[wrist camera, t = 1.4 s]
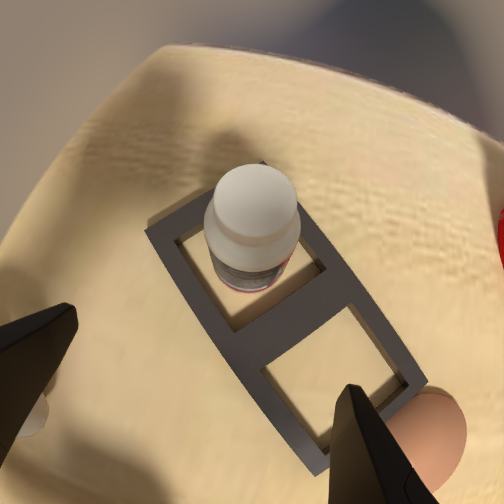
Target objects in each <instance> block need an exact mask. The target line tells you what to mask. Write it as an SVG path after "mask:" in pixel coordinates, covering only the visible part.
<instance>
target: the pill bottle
mask: <svg viewBox="0 0 504 504" xmlns="http://www.w3.org/2000/svg"><path fill="white" fill-rule="evenodd" d="M300 230H301V222H300V216H299V212H298V210H297V195H296V191H295V188H294V186H293V185H292V183H291V181H290V180H289V179H288V178H287V177H286V176H285V175H284V174H283V173H282V172H280V171H279V170H277V169H275V168H273V167H270V166H267V165H263V164H246V165H242V166H238V167H236V168H234V169H232V170H230V171H229V172H227V173H226V174H225V175H224V176H223V177H222V178H221V179H220V180H219V182H218V184H217V185H216V188H215V191H214V195H213V198H212V199H211V201H210V203H209V204H208V206H207V209H206V212H205V216H204V233H205V238H206V242H207V244H208V248H209V251H210V256H211V259H212V263H213V267H214V269H215V272H216V274H217V276H218V278H219V279H220V281H221V282H222V283H223V284H224V285H225V286H227V287H228V288H229V289H231V290H233V291H235V292H238V293H241V294H257V293H261V292H264V291H266V290H268V289H269V288H271V287H272V286H273V285H274V284H275V283H276V282H277V281H278V280H279V278H280V277H281V275H282V273H283V271H284V269H285V267H286V265H287V263H288V261H289V259H290V257H291V255H292V253H293V251H294V249H295V247H296V245H297V242H298V239H299V236H300Z"/></svg>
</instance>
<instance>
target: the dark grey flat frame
mask: <svg viewBox="0 0 504 504" xmlns="http://www.w3.org/2000/svg"><path fill="white" fill-rule="evenodd" d="M258 164H263V165H267V164H266V163H265V162H264V161H262V162H260V163H258ZM267 166H268V165H267ZM215 188H216V187H215ZM215 188H214V189H212V190H210V191H208V192H207V193H205V194H203V195H202V196H200V197H198V198H196V199H195V200H193V201H191V202H190V203H188V204H186V205H185V206H183V207H181V208H180V209H178V210H176V211H175V212H173V213H171V214H170V215H168V216H167V217H165V218H163V219H162V220H160V221H158V222H157V223H155V224H154V225H152V226H150V227H149V228H147V229H146V230H144V231H145V233H146V235H147V236H148V238H149V240H150V242H151V243H152V245H153V247H154V249H155V250H156V252H157V254H158V255H159V257H160V259H161V260H162V262H163V264H164V266H165V267H166V269H167V270H168V272H169V274H170V275H171V277H172V279H173V280H174V282H175V284H176V285H177V287H178V288H179V290H180V292H181V293H182V295H183V296H184V298H185V300H186V301H187V303H188V304H189V306H190V308H191V309H192V311H193V312H194V314H195V315H196V317H197V318H198V320H199V321H200V323H201V325H202V326H203V328H204V329H205V331H206V332H207V334H208V335H209V337H210V338H211V340H212V341H213V343H214V344H215V346H216V347H217V348H218V350H219V351H220V353H221V354H222V356H223V357H224V359H225V360H226V362H227V363H228V364H229V366H230V367H231V369H232V370H233V372H234V373H235V374H236V376H237V377H238V379H239V380H240V381H241V383H242V384H243V386H244V387H245V388H246V390H247V391H248V392H249V394H250V395H251V397H252V398H253V399H254V401H255V402H256V403H257V405H258V406H259V407H260V409H261V410H262V411H263V413H264V414H265V415H266V417H267V418H268V419H269V421H270V422H271V423H272V425H273V426H274V427H275V428H276V430H277V431H278V432H279V434H280V435H281V436H282V437H283V439H284V440H285V441H286V442H287V444H288V445H289V446H290V447H291V449H292V450H293V451H294V452H295V454H296V455H297V456H298V457H299V458H300V460H301V461H302V462H303V463H304V465H305V466H306V467H307V468H308V469H309V471H310V472H311V473H312V474H313V475H314V476H315V477H316V476H317V475H319V474H320V473H322V472H323V471H325V470H326V469H328V468H329V467H330V445H329V446H328V447H327V448H325V449H324V450H323V451H321V450H320V449H319V448H318V446H317V445H316V444H315V443H314V441H313V440H312V439H311V438H310V436H309V435H308V434H307V432H306V431H305V430H304V429H303V427H302V426H301V425H300V423H299V422H298V421H297V419H296V418H295V417H294V415H293V414H292V413H291V412H290V410H289V409H288V408H287V406H286V405H285V404H284V402H283V401H282V400H281V398H280V397H279V396H278V394H277V393H276V391H275V390H274V389H273V387H272V386H271V385H270V383H269V382H268V381H267V379H266V378H265V376H264V375H263V374H262V372H261V371H260V369H262V368H263V367H265V366H266V365H268V364H269V363H271V362H272V361H273V360H275V359H276V358H278V357H279V356H281V355H282V354H283V353H285V352H286V351H288V350H289V349H290V348H292V347H293V346H295V345H296V344H297V343H299V342H300V341H302V340H303V339H304V338H306V337H307V336H308V335H310V334H311V333H312V332H314V331H315V330H316V329H318V328H319V327H320V326H322V325H323V324H324V323H326V322H327V321H328V320H329V319H331V318H332V317H333V316H335V315H336V314H337V313H338V312H340V311H341V310H342V309H344V308H345V307H346V306H347V307H348V308H349V309H350V311H351V312H352V314H353V315H354V316H355V318H356V319H357V321H358V322H359V323H360V325H361V326H362V328H363V329H364V330H365V332H366V333H367V335H368V336H369V337H370V339H371V340H372V342H373V343H374V345H375V346H376V347H377V349H378V350H379V352H380V353H381V355H382V356H383V357H384V359H385V360H386V362H387V363H388V365H389V366H390V368H391V369H392V371H393V372H394V374H395V375H396V376H397V378H398V379H399V381H400V382H401V384H402V385H401V386H400V387H399V388H398V389H397V390H396V391H395V392H394V393H393V394H392V395H391V396H389V397H388V398H387V399H386V400H385V401H384V402H383V403H382V404H381V405H379V406H378V407H377V408H376V410H377V412H378V413H379V415H380V416H381V418H382V419H383V421H384V423H386V422H387V421H388V420H389V419H390V418H392V417H393V416H394V415H395V414H396V413H397V412H398V411H399V410H400V409H401V408H402V407H403V406H405V405H406V404H407V403H408V402H409V401H410V400H411V399H412V398H413V397H414V396H415V395H416V394H417V393H418V392H419V391H420V390H421V389H422V388H423V387H424V386H425V385H426V384H427V383H428V382H429V381H428V380H427V378H426V377H425V375H424V374H423V372H422V371H421V369H420V367H419V366H418V364H417V363H416V361H415V360H414V358H413V357H412V355H411V354H410V352H409V351H408V349H407V348H406V346H405V345H404V343H403V342H402V340H401V339H400V337H399V336H398V335H397V333H396V332H395V330H394V329H393V327H392V326H391V324H390V323H389V322H388V320H387V319H386V317H385V316H384V314H383V313H382V312H381V310H380V309H379V307H378V306H377V305H376V303H375V302H374V300H373V299H372V298H371V296H370V295H369V293H368V292H367V291H366V289H365V288H364V287H363V285H362V284H361V282H360V281H359V280H358V278H357V277H356V276H355V274H354V273H353V272H352V270H351V269H350V268H349V266H348V265H347V264H346V262H345V261H344V260H343V258H342V257H341V256H340V254H339V253H338V252H337V250H336V249H335V248H334V247H333V245H332V244H331V243H330V241H329V240H328V239H327V238H326V236H325V235H324V234H323V232H322V231H321V230H320V229H319V227H318V226H317V225H316V224H315V222H314V221H313V220H312V219H311V217H310V216H309V215H308V214H307V212H306V211H305V210H304V209H303V207H302V206H301V205H300V204H299V202H298V201H297V210H298V212H299V216H300V222H301V230H300V236H299V239H298V241H299V242H300V244H301V245H302V246H303V248H304V249H305V250H306V251H307V253H308V254H309V255H310V257H311V258H312V259H313V261H314V262H315V263H316V265H317V266H318V267H319V269H320V270H321V271H322V273H321V274H319V275H318V276H317V277H315V278H314V279H313V280H311V281H310V282H308V283H307V284H306V285H304V286H303V287H301V288H300V289H299V290H297V291H296V292H294V293H293V294H291V295H290V296H289V297H287V298H286V299H284V300H283V301H281V302H280V303H279V304H277V305H276V306H274V307H273V308H271V309H270V310H268V311H267V312H266V313H264V314H263V315H261V316H260V317H258V318H257V319H255V320H254V321H252V322H251V323H249V324H248V325H246V326H245V327H243V328H242V329H240V330H239V331H237V332H236V333H233V331H232V330H231V328H230V327H229V325H228V324H227V322H226V321H225V319H224V318H223V316H222V315H221V313H220V312H219V310H218V309H217V307H216V306H215V305H214V303H213V301H212V300H211V298H210V297H209V295H208V294H207V292H206V291H205V289H204V288H203V286H202V285H201V283H200V282H199V280H198V279H197V277H196V276H195V274H194V272H193V271H192V269H191V268H190V266H189V265H188V263H187V261H186V260H185V258H184V257H183V255H182V254H181V252H180V250H179V249H178V247H177V245H179V244H181V243H182V242H184V241H185V240H187V239H189V238H190V237H192V236H193V235H195V234H197V233H198V232H200V231H201V230H203V229H204V216H205V212H206V209H207V206H208V204H209V203H210V201H211V199H212V198H213V195H214V191H215Z"/></svg>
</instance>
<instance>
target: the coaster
mask: <svg viewBox="0 0 504 504" xmlns="http://www.w3.org/2000/svg"><path fill="white" fill-rule="evenodd" d="M385 424H386V426H387V427H388V429H389V430H390V432H391V433H392V435H393V436H394V438H395V440H396V441H397V443H398V444H399V446H400V447H401V449H402V450H403V452H404V453H405V455H406V457H407V458H408V460H409V461H410V463H411V464H412V467H413V468H414V469H415V471H416V472H417V474H418V475H419V477H420V478H421V480H422V481H423V483H424V484H425V486H426V487H427V488H428V490H429V491H430V492H431V494H432V493H434V492H435V491H436V490H438V489H439V488H440V487H441V486H442V485H443V484H444V483H445V482H446V481H447V480H448V479H449V477H450V476H451V475H452V473H453V472H454V470H455V469H456V467H457V465H458V464H459V462H460V459H461V457H462V455H463V452H464V448H465V444H466V436H467V427H466V421H465V417H464V414H463V412H462V410H461V409H460V407H459V406H458V405H457V404H456V403H455V402H454V401H453V400H452V399H450V398H448V397H446V396H444V395H440V394H430V393H428V394H420V395H416V396H414V397H413V398H412V399H411V400H410V401H409V402H408V403H407V404H406V405H405V406H403V407H402V408H401V409H400V410H399V411H398V412H397V413H396V414H395V415H394V416H393V417H392V418H390V419H389V420H388V421H387V422H386V423H385Z"/></svg>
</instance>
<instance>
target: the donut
mask: <svg viewBox="0 0 504 504" xmlns="http://www.w3.org/2000/svg"><path fill="white" fill-rule="evenodd" d="M48 415H49V407H48V403H47V400H46V398H45V395H44V393H43V392H42V394H41V395H40V397H39V399H38V400H37V402H36V404H35V405H34V407H33V409H32V410H31V412H30V414H29V415H28V417H27V419H26V421H25V422H24V424H23V426H22V428H21V429H20V431H19V433H18V435H17V437H16V438H23V437H28V436H32V435H33V434H35V433H37V432H38V431H40V430H41V429H42V428H43V427H44V425H45V423H46V420H47V417H48Z"/></svg>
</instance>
